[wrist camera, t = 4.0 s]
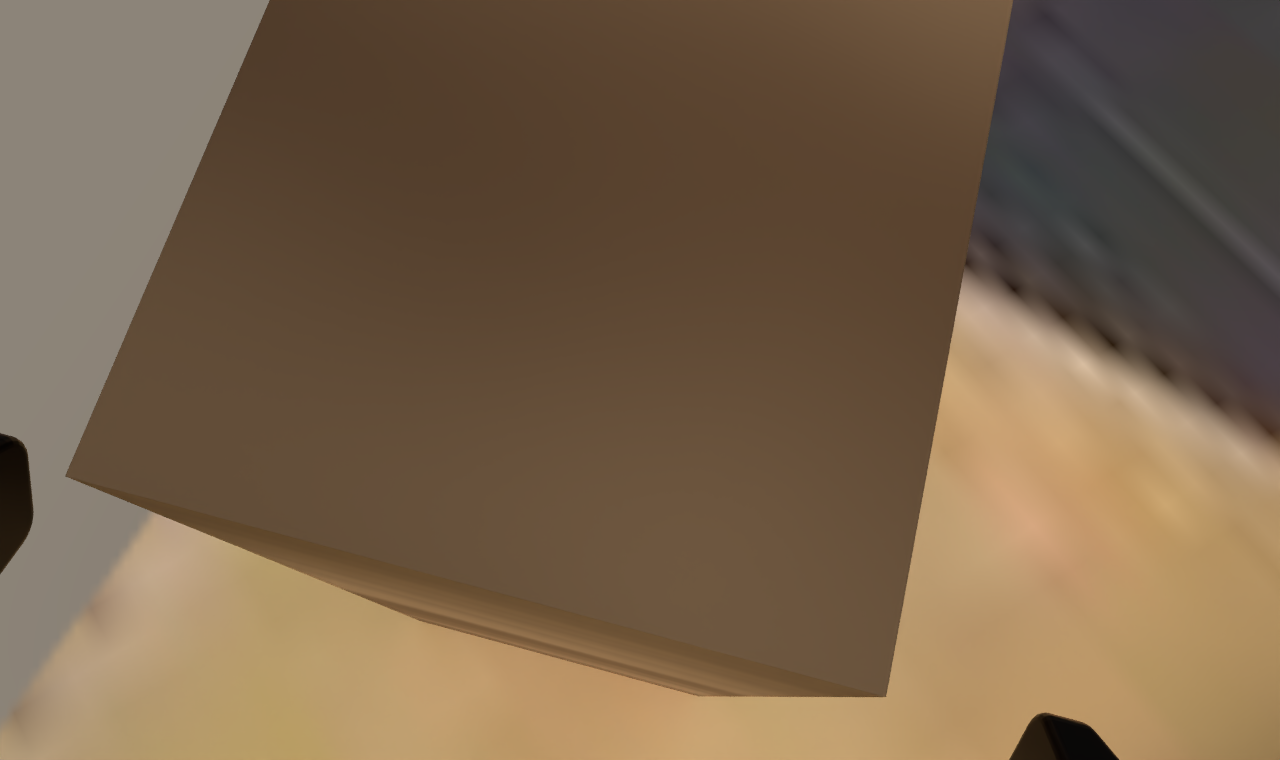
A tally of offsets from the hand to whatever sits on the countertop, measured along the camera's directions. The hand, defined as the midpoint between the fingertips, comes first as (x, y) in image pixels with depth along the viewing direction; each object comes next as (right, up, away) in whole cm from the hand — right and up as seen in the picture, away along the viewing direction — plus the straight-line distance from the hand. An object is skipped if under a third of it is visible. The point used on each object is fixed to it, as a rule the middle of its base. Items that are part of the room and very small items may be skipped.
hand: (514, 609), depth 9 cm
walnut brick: (0, -1, +10) cm, 10 cm away
